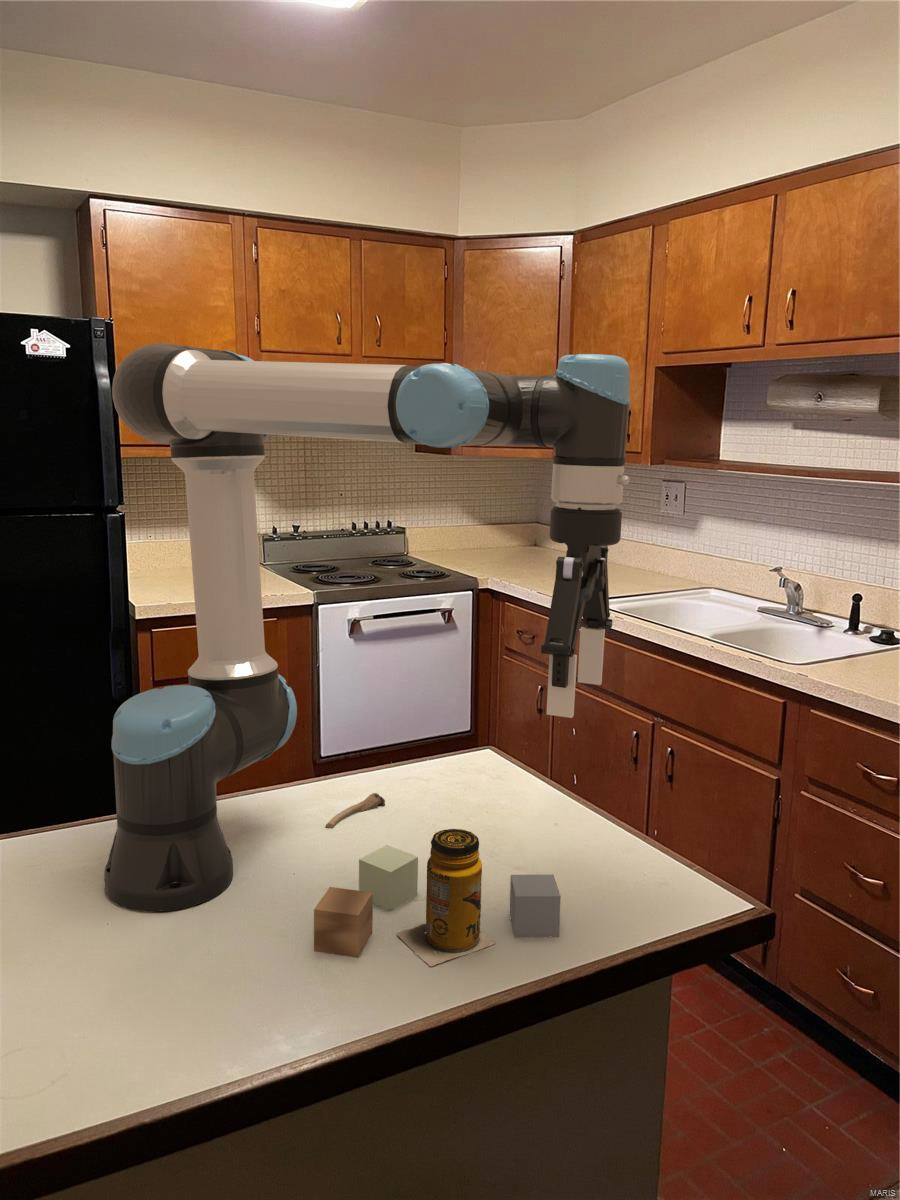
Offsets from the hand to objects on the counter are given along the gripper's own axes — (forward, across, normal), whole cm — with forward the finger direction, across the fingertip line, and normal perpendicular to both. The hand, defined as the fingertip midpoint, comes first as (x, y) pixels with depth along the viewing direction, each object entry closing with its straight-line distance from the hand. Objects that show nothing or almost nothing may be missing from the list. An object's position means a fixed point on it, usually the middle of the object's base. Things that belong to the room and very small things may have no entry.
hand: (575, 698), depth 100 cm
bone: (+27, +16, +35) cm, 47 cm away
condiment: (+27, -10, +11) cm, 31 cm away
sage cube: (+27, -3, +21) cm, 34 cm away
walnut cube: (+27, -14, +21) cm, 37 cm away
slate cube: (+27, -3, +3) cm, 27 cm away
